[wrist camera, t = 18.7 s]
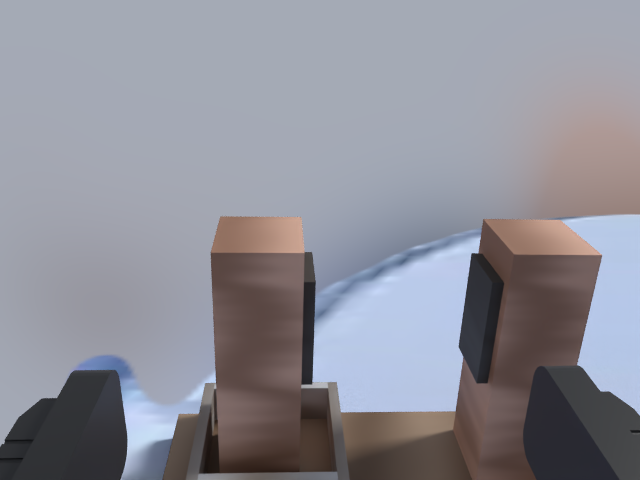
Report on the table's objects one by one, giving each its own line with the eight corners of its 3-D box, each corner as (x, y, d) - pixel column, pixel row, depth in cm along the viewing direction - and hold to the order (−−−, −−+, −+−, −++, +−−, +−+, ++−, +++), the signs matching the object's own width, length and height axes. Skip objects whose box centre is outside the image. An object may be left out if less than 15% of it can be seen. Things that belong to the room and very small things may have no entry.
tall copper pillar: (306, 431, 32) (312, 217, 27) (309, 489, 28) (317, 253, 23) (227, 432, 31) (220, 216, 27) (220, 491, 28) (210, 252, 23)
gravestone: (551, 432, 34) (600, 209, 29) (612, 533, 28) (690, 271, 23) (180, 436, 33) (163, 204, 28) (155, 544, 27) (127, 268, 21)
